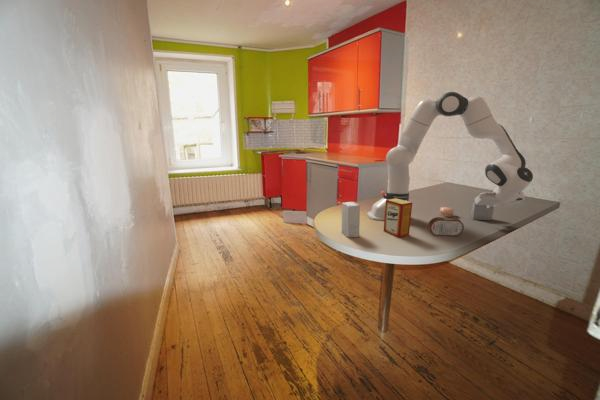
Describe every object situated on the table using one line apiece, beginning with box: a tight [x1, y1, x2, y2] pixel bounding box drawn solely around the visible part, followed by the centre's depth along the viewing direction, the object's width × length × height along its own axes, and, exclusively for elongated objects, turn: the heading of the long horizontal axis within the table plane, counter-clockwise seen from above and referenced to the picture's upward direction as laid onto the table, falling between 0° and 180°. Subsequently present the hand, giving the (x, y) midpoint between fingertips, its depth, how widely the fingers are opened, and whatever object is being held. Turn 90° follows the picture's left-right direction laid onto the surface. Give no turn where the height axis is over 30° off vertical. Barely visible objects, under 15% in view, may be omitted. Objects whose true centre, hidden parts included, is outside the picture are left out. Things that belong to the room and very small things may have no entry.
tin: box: [427, 216, 465, 237], centre depth 130 cm, size 15×3×8 cm, turn 84°
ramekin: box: [439, 206, 455, 218], centre depth 162 cm, size 7×7×4 cm
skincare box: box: [341, 201, 361, 238], centre depth 130 cm, size 8×6×15 cm
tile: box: [470, 202, 495, 221], centre depth 154 cm, size 10×3×9 cm, turn 87°
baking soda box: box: [383, 198, 413, 239], centre depth 131 cm, size 10×6×16 cm
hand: (489, 207), depth 149 cm, fingers closed
